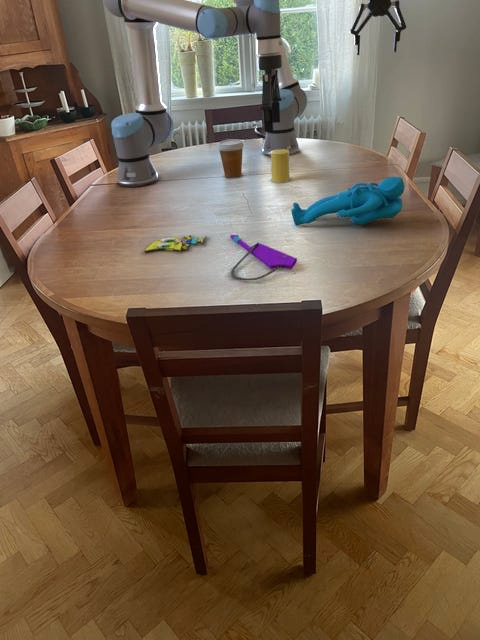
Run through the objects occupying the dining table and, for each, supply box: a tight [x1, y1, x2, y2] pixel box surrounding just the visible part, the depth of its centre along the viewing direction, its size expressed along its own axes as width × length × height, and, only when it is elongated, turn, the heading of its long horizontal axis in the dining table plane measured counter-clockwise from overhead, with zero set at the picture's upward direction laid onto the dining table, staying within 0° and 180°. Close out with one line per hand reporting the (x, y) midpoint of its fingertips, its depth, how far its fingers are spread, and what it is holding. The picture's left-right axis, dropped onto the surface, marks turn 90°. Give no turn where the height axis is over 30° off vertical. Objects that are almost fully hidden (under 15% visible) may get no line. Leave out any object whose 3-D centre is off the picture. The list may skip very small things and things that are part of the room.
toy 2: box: [290, 176, 405, 227], centre depth 131 cm, size 17×11×30 cm
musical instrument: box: [229, 234, 298, 281], centre depth 118 cm, size 24×2×20 cm
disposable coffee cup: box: [217, 138, 245, 178], centre depth 178 cm, size 10×10×12 cm
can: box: [270, 149, 291, 184], centre depth 169 cm, size 6×6×10 cm
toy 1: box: [144, 234, 207, 254], centre depth 130 cm, size 10×1×15 cm
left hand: (272, 126), depth 161 cm, fingers open, 13 cm apart
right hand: (376, 53), depth 183 cm, fingers open, 13 cm apart
